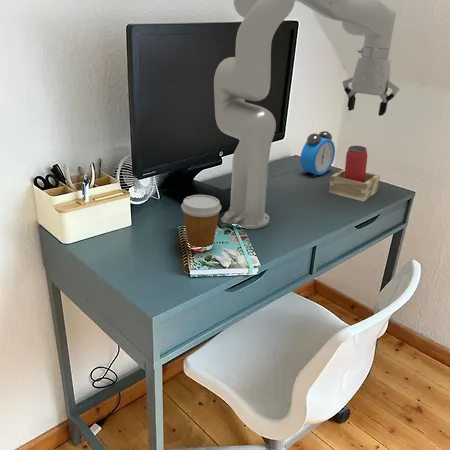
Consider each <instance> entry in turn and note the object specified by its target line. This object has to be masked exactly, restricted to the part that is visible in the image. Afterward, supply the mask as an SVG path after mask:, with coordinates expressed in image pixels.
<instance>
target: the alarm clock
mask: <svg viewBox="0 0 450 450" xmlns="http://www.w3.org/2000/svg"><path fill="white" fill-rule="evenodd" d="M300 153H301V154H300V166H301V168H302V170H304V172H307V173H310V174H313V177H314V178H315V177H317V176H322V175H324V174H327V172H328V171H329V170H330V168H331V167H332V164H333V162H334V159H335V154H336V147H335V144H334V142H333V135H332V133H330V132H329V131H327V130H324V131H323V130H322V131H319V133H314V132H313V133H311V134H309V135H308V136H307V137H306V142H305V143H304V144H303V147H302V149H301V152H300Z"/></svg>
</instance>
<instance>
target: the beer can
mask: <svg viewBox="0 0 450 450" xmlns="http://www.w3.org/2000/svg"><path fill="white" fill-rule="evenodd" d="M368 155H369V154H368V151H367V147H366V146H362V145H351V146H349V147H348V150H347V151H346V155H345V167H344V168H345V177H344V178H346V179H351V180H355V181H359V182H363V183H365V175H366V172H367V165H368V164H367V163H368Z"/></svg>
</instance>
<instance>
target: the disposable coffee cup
mask: <svg viewBox="0 0 450 450" xmlns="http://www.w3.org/2000/svg"><path fill="white" fill-rule="evenodd" d="M180 207H181V210H182V212H183V219H184V227H185V236H186V243H187V242H188V243H189V244H190V245H192V246H195V247H207V246H210V245H212V244H213V245H214V243H213V242H215V235H216V232H217V226H218V221H219V215H220V211H221V210H222V205H221V202H220V200H219V199H218V198H217V197H215V196H213V195H207V194H193V195H190V196H189V195H188V196H186V197H185V198H184V199H183V201H182V203H181V206H180Z"/></svg>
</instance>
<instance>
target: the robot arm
mask: <svg viewBox="0 0 450 450" xmlns="http://www.w3.org/2000/svg"><path fill="white" fill-rule="evenodd" d="M295 1H296V2H299V3H300V4H302V5H303V6H305V7H307V8H309V9H311V10H313V11H314V12H316V13H317V14H319V15H321V16H322V17H324V18H327V19H330V20H333V21H339V22H341V25H342V26H341V27H342V28H343V29H344V31H345V32H346V33H348V34H350V35H353V36H361V37H363V36H364V41H363V46H362V47H361V48H358V49H357V53H358V54H360V56H361V57H358V59H357V62H356V64H355V68H354V72H353V76H352V77H350V78H348V79H345V80H343V81H342V86H343V90H344V92H345V93H346V95H347V97H348V101H347V108H348V109H347V110H348V111H350V112H351V111H354V109H355V105H356V99H357V97H356V94H358V93H359V94H365V95H370V96H371V95H372V96H379V98H380V99H381V102H380V103H379V108H378V109H379V110H378V116H380V117H381V116H384V115H385V114H386V112H387V108H388V102H389V101H391V100H392V99H393V98H395V97H396V95H397V94H398V92H399V91H400V87H399V86H397V85H395V84H394V83H392V82H391V81H390V77H391V76H390V75H391V74H390V73H391V60H390V59H389V55H390V50H391V43H392V37H393V33H394V26H395V21H396V11H395V10H394V9H392V8H389V7H388V6H387V5H386V4H385V3H384V2H382V1H381V0H233V6H234V9H235V11H236V13H237V14H238V15H239V16H241V18H243V20H242V21H241V24H240V25H239V27H238V29H237V33H236V36H235V37H236V38H235V53H234V54H235V56H231V57H230V56H229V57H227V58H224V59H223V60H222V61H221V62H220V63H219V64H218V66H217V68H216V70H215V73H214V76H213V77H214V78H213V93H214V94H213V97H214V98H213V99H214V116H215V121H216V122H215V123H216V125H217V127H218V129H219V130H220V132H221V133H223V134H225V135H227V136H230V137H232V138H235V139H236V140H237V139H238V140H239V142H238V144H237V147H236V148H235V150H234V152H233V155H232V156H233V157H232V161H231V162H232V165H231V166H232V168H231V188H230V202H229V203H230V206H229V208H228V210H227V211H226V212H225V213H224V215H223V216H221V219H220V220H221V222H222V223H224V224H227V225H229V224H238V225H241V226H243V227H244V228H245V229H244V230H256V229H257V230H258V229H261V228H265V227H266V226H267V225H269V223H270V216H269V214H267V213H266V211H265V208H266V207H265V206H266V196H267V187H268V185H267V184H268V174H269V173H268V172H269V162H270V161H269V160H270V153H271V148H272V147H271V146H272V144H273V139H274V137H275V132H276V126H277V125H276V118H275V117H274V115H273V113H272V112H271V111H270V110H268V109H267V108H265V107H263V106H260V105H257V104H253V103H249V102H246V101H252V102H258V101H263V100H265V99H266V98H267V96H268V95H269V93H270V89H271V78H272V76H271V74H272V73H271V69H272V68H271V67H272V64H271V63H272V59H271V57H272V55H271V54H272V42H273V38H274V36H275V33H276V31H277V30H278V28H279V26H280V25H281V24H282V23H283V22H284V20H286V18H288V16H289V15H290V14H291V12H292V11H293V9H294V7H295V3H296V2H295ZM350 84H351V85H350ZM350 87H351V88H350ZM388 89H390V90H391V93H390V94H388V93H387V92H388Z"/></svg>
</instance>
